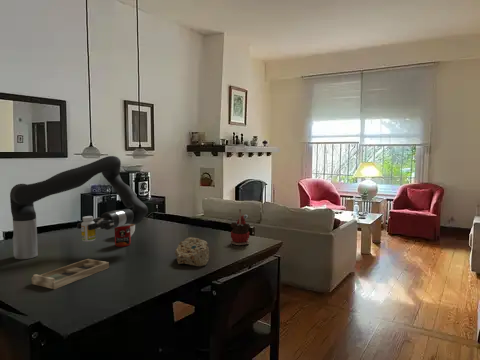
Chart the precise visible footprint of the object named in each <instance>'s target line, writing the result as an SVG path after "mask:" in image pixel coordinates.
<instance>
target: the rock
mask: <svg viewBox="0 0 480 360" xmlns="http://www.w3.org/2000/svg"><path fill="white" fill-rule="evenodd" d="M174 255H175V257H176V261H177V264H178V265H180V264H185V265H189V266H196V267H203V266H206V265H207V264H208V263H209V259H210V248H209V246H208V242H207V241H206V240H204V239H201V238H198V237H193V236H192V237H187V238H185V239H184V240H183V241H182V240H181V241H180V242H179V243H178V245H177V248H176V249H175V250H174Z"/></svg>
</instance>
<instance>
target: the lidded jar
mask: <svg viewBox="0 0 480 360" xmlns="http://www.w3.org/2000/svg"><path fill="white" fill-rule="evenodd" d="M135 230H136V224H130V235H131V237H132V236H133V235H134V233H135Z"/></svg>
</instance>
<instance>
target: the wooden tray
mask: <svg viewBox="0 0 480 360" xmlns="http://www.w3.org/2000/svg"><path fill="white" fill-rule="evenodd" d="M107 269H110V262H109V261H103V260H97V259H93V258H86V259H83V260H80V261H77V262H74V263H70V264H68V265H65V266H61V267H59V268H56V269H53V270H50V271H46V272H44V273H42V274H37V273H36V274H33V275H32V277H31V285H35V286H38V287H39V286H40V287H43V288H48V289H51V290H57V289H59V288H62V287H64V286H66V285H69V284H71V283H75V282H77V281H79V280H82V279H85V278H87V277H89V276H92V275H95V274H98V273H100V272H103V271H105V270H107Z"/></svg>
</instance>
